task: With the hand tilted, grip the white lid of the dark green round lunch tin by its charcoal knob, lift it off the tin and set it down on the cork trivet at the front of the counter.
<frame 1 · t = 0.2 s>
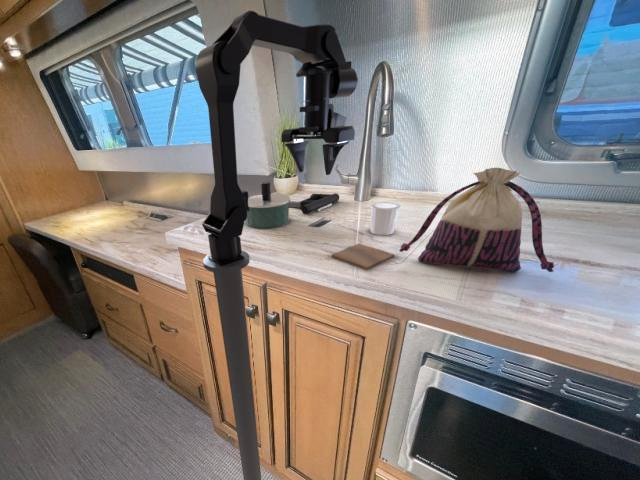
hand: (314, 173, 78), 16 cm above the worktop, tool pointing down, fingers open, 9 cm apart
lunch tin: (267, 221, 99), on the worktop
door handle: (308, 207, 111), on the worktop
tin lid: (266, 201, 96), point 6 cm above the worktop, touching lunch tin
pouch: (465, 267, 63), on the worktop
trivet: (362, 256, 70), on the worktop
white cup: (381, 232, 83), on the worktop
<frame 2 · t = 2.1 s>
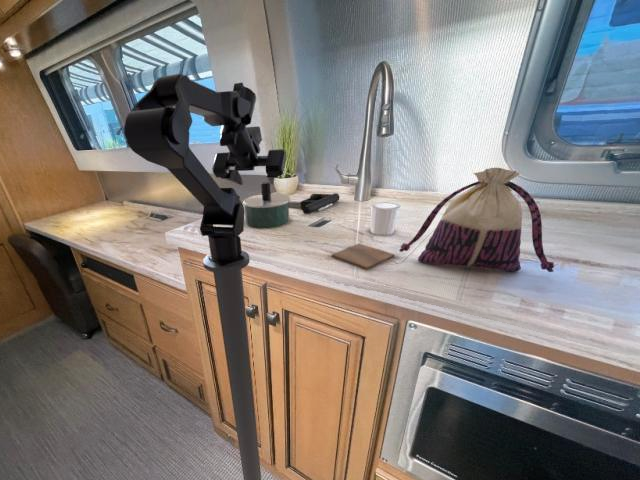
hand: (257, 183, 86), 13 cm above the worktop, tool tilted 45°, fingers open, 9 cm apart
nothing on the worktop moved.
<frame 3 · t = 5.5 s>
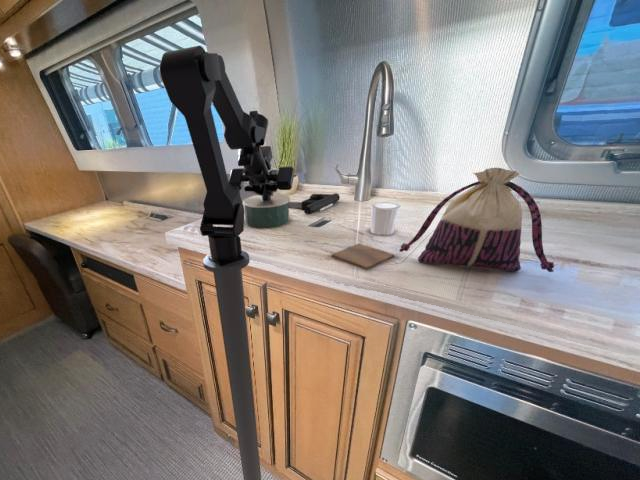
hand: (267, 194, 96), 8 cm above the worktop, tool tilted 45°, fingers closed on tin lid, 3 cm apart
tin lid: (266, 201, 96), point 6 cm above the worktop, touching gripper, lunch tin
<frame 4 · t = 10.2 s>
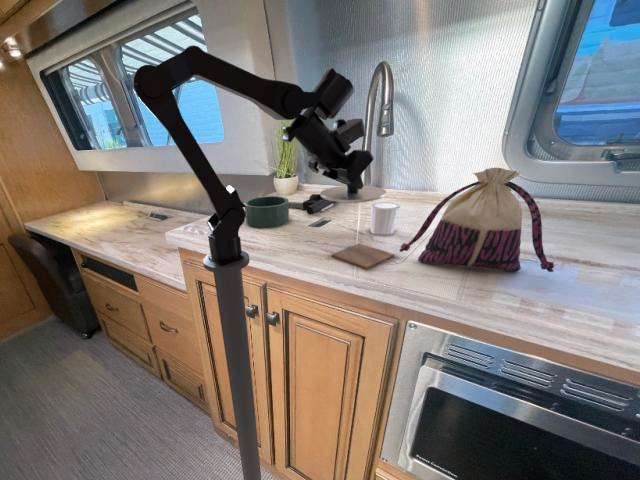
hand: (358, 186, 72), 13 cm above the worktop, tool tilted 45°, fingers closed on tin lid, 3 cm apart
tin lid: (352, 194, 73), point 12 cm above the worktop, touching gripper
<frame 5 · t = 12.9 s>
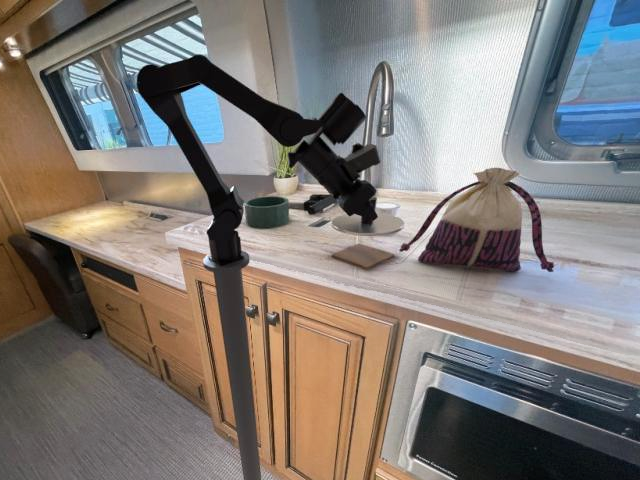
hand: (373, 216, 66), 9 cm above the worktop, tool tilted 45°, fingers closed on tin lid, 3 cm apart
tin lid: (366, 224, 67), point 8 cm above the worktop, touching gripper
when the fingers open (3 cm above the worktop, at t = 15.1 s): tin lid stays where it is, resting on trivet.
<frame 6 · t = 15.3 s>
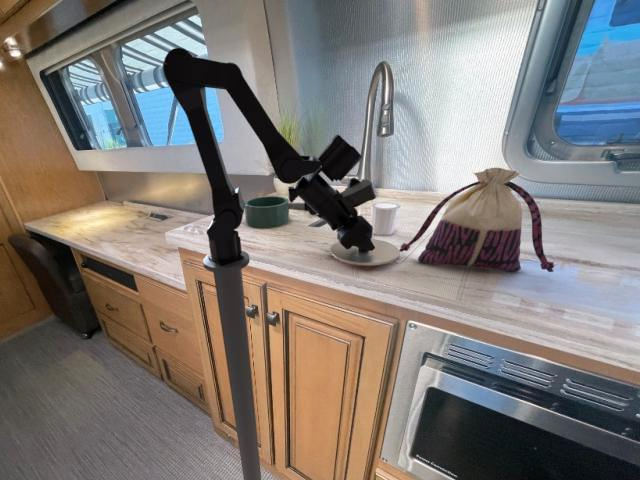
hand: (370, 245, 69), 3 cm above the worktop, tool tilted 45°, fingers open, 4 cm apart
tin lid: (363, 252, 70), point 1 cm above the worktop, touching trivet
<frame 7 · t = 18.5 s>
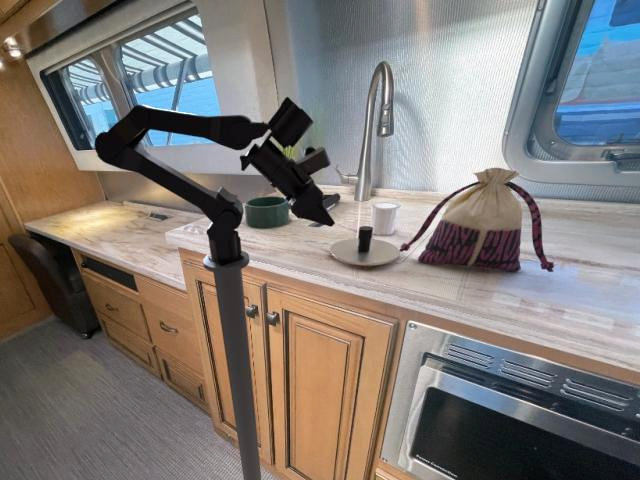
hand: (329, 218, 66), 10 cm above the worktop, tool tilted 45°, fingers open, 9 cm apart
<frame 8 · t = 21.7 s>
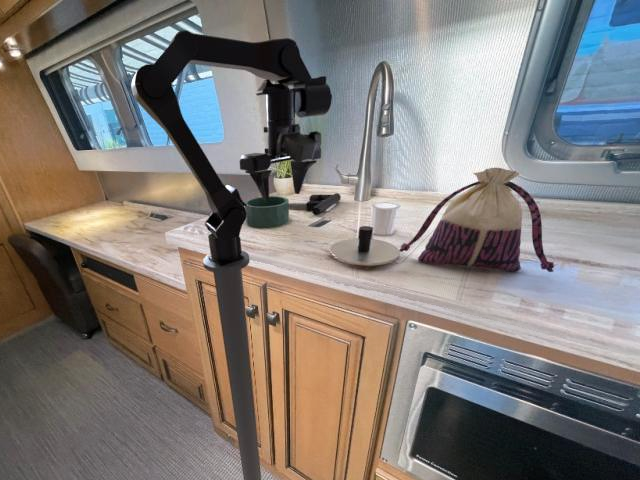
hand: (282, 197, 71), 13 cm above the worktop, tool pointing down, fingers open, 9 cm apart
at the end: tin lid inside the target area on the trivet (0.1 cm from its centre), point 1.2 cm above the trivet's base; tin lid tilted 0°; the gripper is holding nothing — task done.
